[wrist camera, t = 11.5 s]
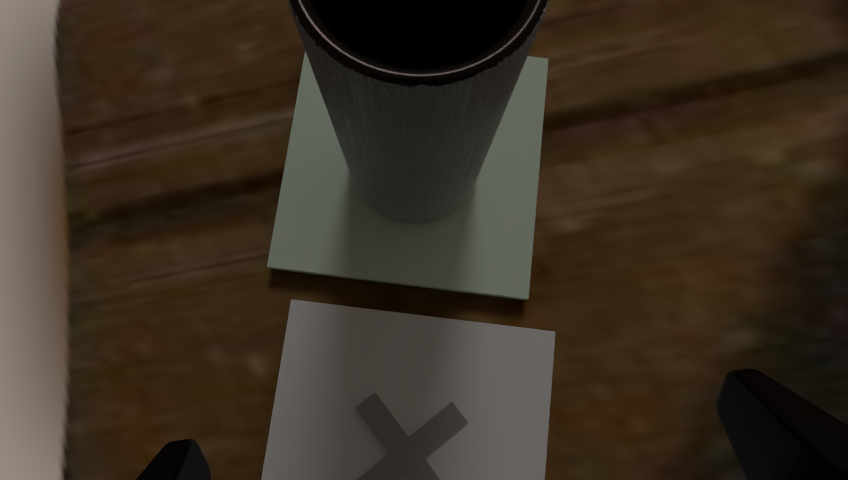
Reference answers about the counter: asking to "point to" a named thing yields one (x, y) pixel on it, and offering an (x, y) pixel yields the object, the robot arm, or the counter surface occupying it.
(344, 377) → the pad
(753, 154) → the counter surface
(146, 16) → the counter surface
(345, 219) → the pad
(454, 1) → the grey cylinder
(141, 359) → the counter surface
